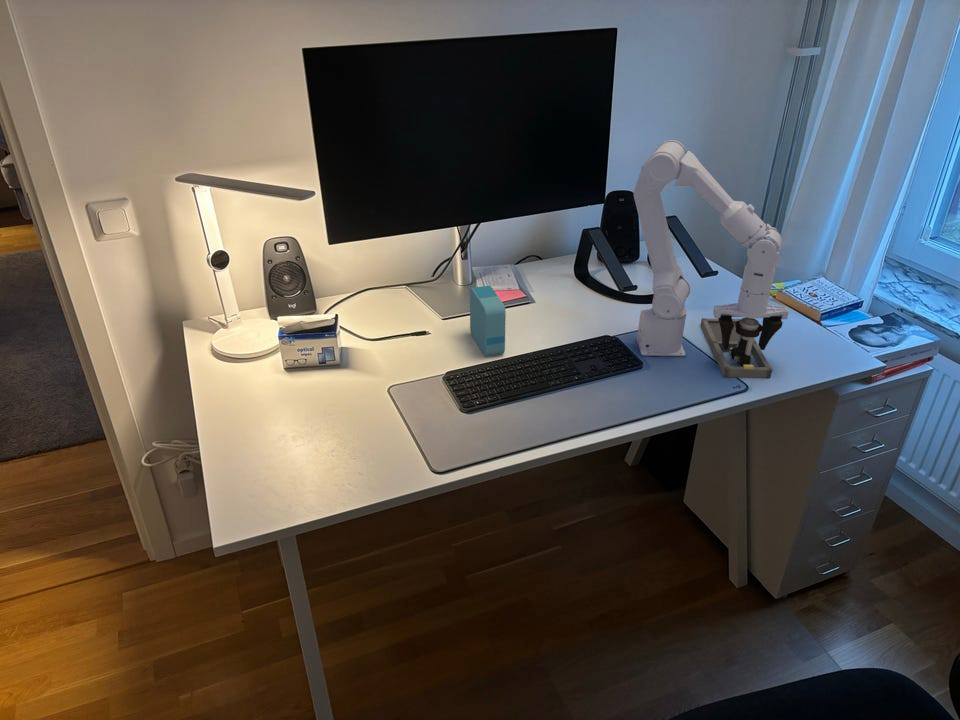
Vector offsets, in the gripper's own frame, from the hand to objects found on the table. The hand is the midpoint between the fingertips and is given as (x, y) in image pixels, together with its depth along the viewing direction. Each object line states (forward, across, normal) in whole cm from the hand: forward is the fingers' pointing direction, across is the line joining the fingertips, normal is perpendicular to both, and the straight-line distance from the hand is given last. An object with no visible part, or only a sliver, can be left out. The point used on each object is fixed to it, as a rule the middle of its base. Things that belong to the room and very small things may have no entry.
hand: (743, 347), depth 154 cm
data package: (+4, +54, -6) cm, 54 cm away
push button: (+4, 0, -1) cm, 4 cm away
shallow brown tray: (+4, 0, -5) cm, 6 cm away
